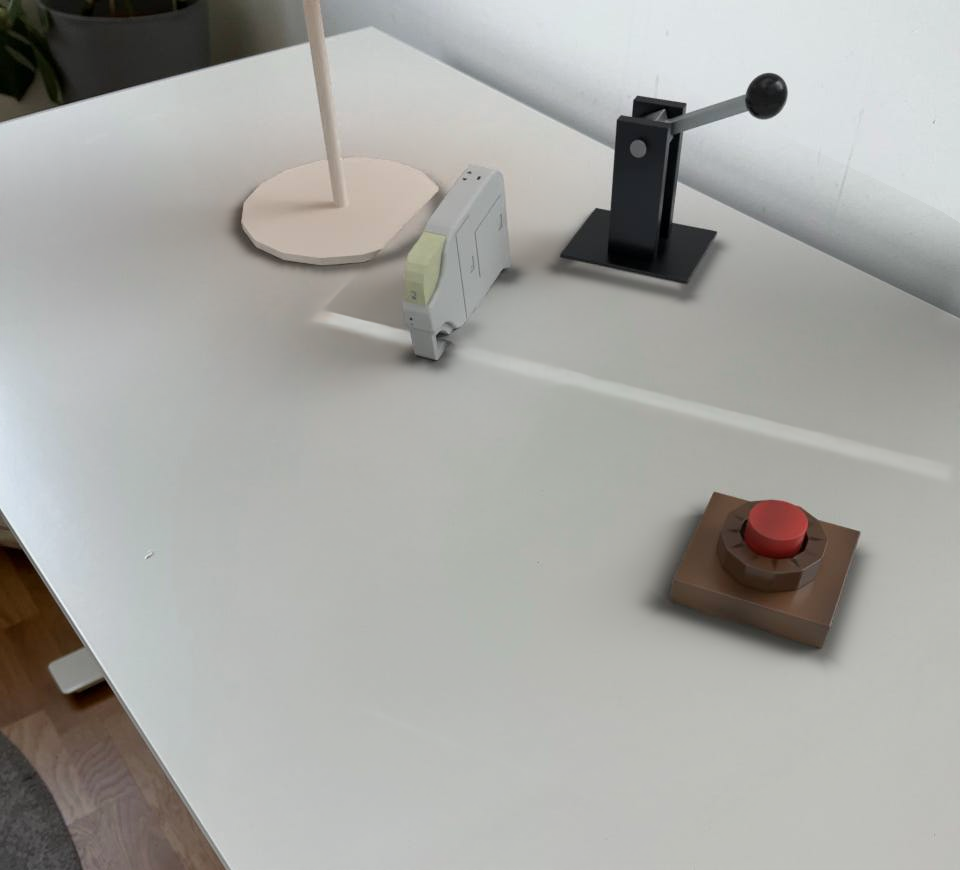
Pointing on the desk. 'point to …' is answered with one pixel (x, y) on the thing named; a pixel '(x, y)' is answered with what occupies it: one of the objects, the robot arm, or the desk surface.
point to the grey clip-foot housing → (456, 259)
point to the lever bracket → (643, 203)
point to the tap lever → (734, 105)
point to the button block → (764, 574)
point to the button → (775, 529)
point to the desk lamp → (333, 191)
